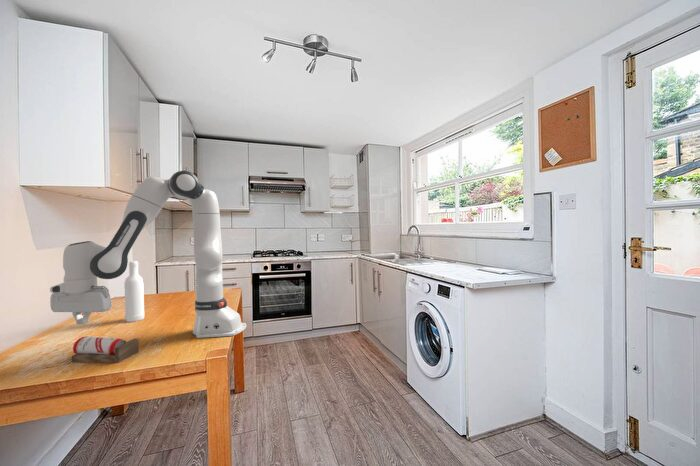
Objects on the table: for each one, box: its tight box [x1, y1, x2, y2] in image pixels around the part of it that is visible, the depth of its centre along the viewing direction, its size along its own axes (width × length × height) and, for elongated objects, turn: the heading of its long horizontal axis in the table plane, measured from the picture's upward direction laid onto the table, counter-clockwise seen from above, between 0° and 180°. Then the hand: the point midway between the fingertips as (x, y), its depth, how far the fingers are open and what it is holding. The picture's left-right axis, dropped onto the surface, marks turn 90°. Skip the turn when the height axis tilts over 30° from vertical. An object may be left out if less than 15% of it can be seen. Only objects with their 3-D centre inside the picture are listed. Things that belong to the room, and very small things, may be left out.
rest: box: [70, 338, 140, 363], centre depth 102 cm, size 18×8×5 cm, turn 87°
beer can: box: [72, 335, 127, 355], centre depth 102 cm, size 6×6×16 cm
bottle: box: [123, 260, 146, 323], centre depth 144 cm, size 8×8×30 cm
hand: (82, 323), depth 103 cm, fingers closed
